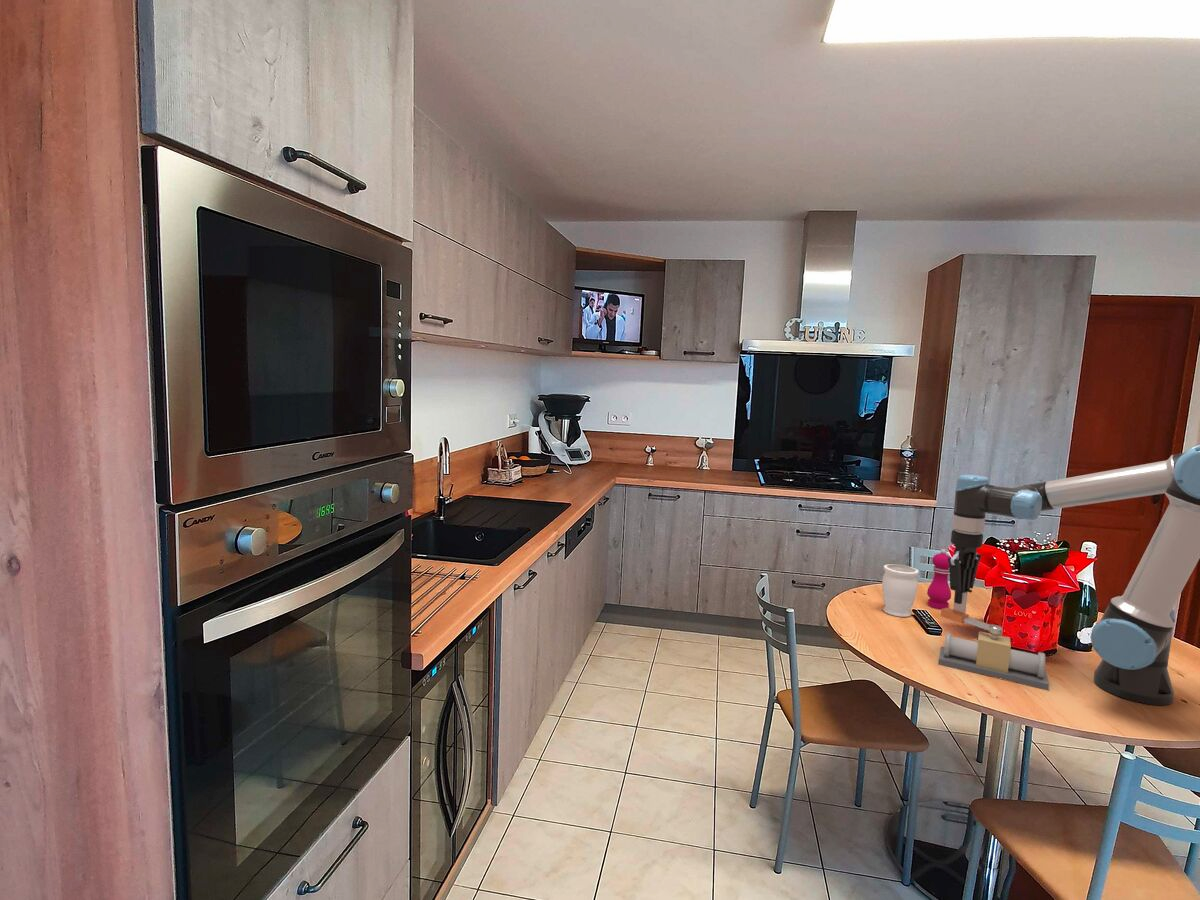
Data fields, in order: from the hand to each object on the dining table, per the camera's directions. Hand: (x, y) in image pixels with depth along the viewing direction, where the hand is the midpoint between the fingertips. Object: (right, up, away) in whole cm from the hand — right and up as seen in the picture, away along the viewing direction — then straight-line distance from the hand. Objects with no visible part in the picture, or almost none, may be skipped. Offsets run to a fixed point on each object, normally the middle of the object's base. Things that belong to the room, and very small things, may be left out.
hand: (958, 613), depth 174 cm
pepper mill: (+15, -8, +39) cm, 43 cm away
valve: (+3, -12, -10) cm, 16 cm away
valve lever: (0, -2, -5) cm, 5 cm away
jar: (-3, -8, +31) cm, 32 cm away
